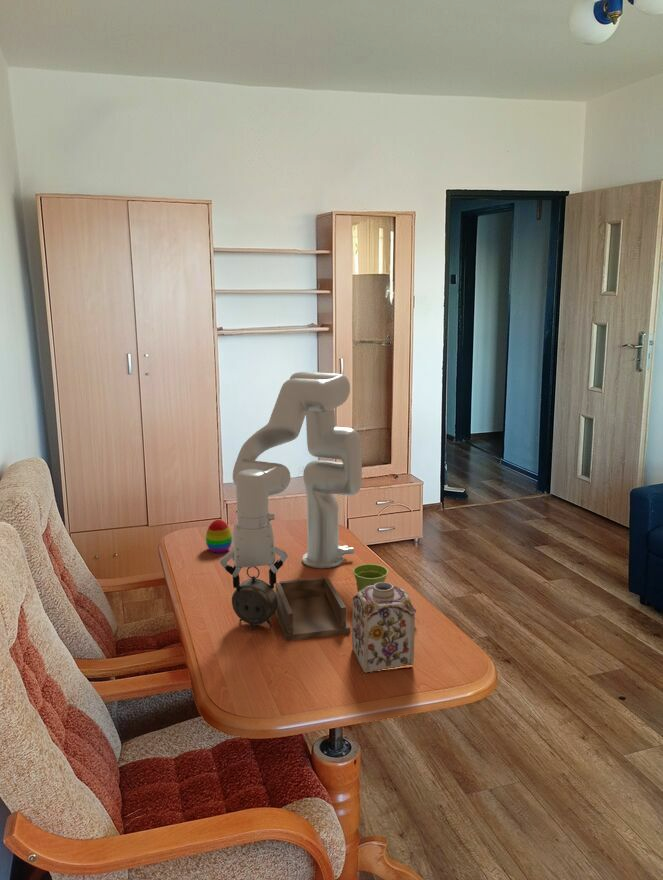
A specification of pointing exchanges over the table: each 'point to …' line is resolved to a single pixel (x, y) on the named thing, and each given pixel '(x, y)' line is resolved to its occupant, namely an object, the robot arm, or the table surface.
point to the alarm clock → (254, 601)
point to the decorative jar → (383, 627)
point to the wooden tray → (310, 609)
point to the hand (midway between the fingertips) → (254, 587)
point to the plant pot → (369, 575)
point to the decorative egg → (218, 536)
